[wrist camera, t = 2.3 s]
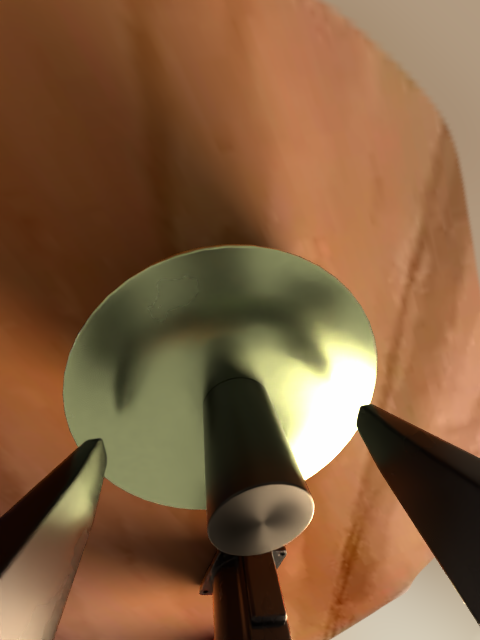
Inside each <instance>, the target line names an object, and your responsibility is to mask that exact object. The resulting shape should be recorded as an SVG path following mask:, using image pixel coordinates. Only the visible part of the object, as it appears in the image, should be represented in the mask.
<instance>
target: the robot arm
mask: <svg viewBox="0 0 480 640" xmlns="http://www.w3.org/2000/svg"><path fill="white" fill-rule="evenodd" d="M356 426H357V429H358V431H359V433H360V435H361V437H362V439H363V441H364V442H365V444H366V446H367V448H368V450H369V452H370V454H371V456H372V458H373V459H374V461H375V463H376V465H377V467H378V469H379V470H380V472H381V474H382V475H383V477H384V478H385V480H386V481H387V483H388V485H389V486H390V488H391V489H392V491H393V492H394V494H395V495H396V497H397V499H398V500H399V502H400V503H401V505H402V506H403V508H404V509H405V511H406V513H407V514H408V516H409V517H410V519H411V520H412V522H413V523H414V525H415V527H416V528H417V530H418V531H419V533H420V534H421V536H422V537H423V539H424V541H425V542H426V544H427V545H428V547H429V548H430V550H431V551H432V553H433V554H434V556H435V558H436V559H437V561H438V562H439V564H440V565H441V567H442V568H443V570H444V572H445V573H446V575H447V576H448V578H449V579H450V581H451V582H452V584H453V585H454V587H455V589H456V590H457V592H458V593H459V595H460V596H461V598H462V599H463V601H464V602H465V604H466V605H467V607H468V609H469V610H470V612H471V613H472V615H473V616H474V618H475V620H476V621H477V623H478V624H479V626H480V458H478V457H476V456H474V455H472V454H470V453H468V452H466V451H464V450H462V449H460V448H458V447H456V446H454V445H452V444H450V443H448V442H446V441H444V440H442V439H440V438H438V437H436V436H434V435H432V434H430V433H428V432H426V431H424V430H422V429H420V428H418V427H416V426H414V425H412V424H410V423H408V422H406V421H404V420H402V419H400V418H398V417H396V416H394V415H392V414H390V413H388V412H386V411H384V410H382V409H380V408H378V407H376V406H374V405H372V404H366V405H361V406H360V407H359V411H358V415H357V420H356ZM106 466H107V454H106V450H105V447H104V443H103V440H102V439H101V438H95V439H88V440H86V441H85V442H84V443H83V444H81V445H80V446H79V447H78V448H77V449H76V450H75V451H74V452H73V453H71V454H70V455H69V456H68V457H67V458H66V459H65V460H64V461H63V462H62V463H60V464H59V465H58V466H57V467H56V468H55V469H54V470H53V471H52V472H50V473H49V474H48V475H47V476H46V477H45V478H44V479H43V480H42V481H41V482H39V483H38V484H37V485H36V486H35V487H34V488H33V489H32V490H31V491H29V492H28V493H27V494H26V495H25V496H24V497H23V498H22V499H21V500H19V501H18V502H17V503H16V504H15V505H14V506H13V507H12V508H11V509H10V510H8V511H7V512H6V513H5V514H4V515H3V516H2V517H1V518H0V640H53V639H54V636H55V633H56V631H57V628H58V625H59V622H60V619H61V616H62V613H63V610H64V607H65V604H66V601H67V598H68V595H69V592H70V589H71V586H72V583H73V580H74V577H75V574H76V571H77V568H78V565H79V562H80V559H81V556H82V554H83V551H84V548H85V545H86V542H87V539H88V536H89V533H90V530H91V527H92V523H93V520H94V516H95V513H96V509H97V504H98V500H99V496H100V492H101V487H102V483H103V479H104V475H105V470H106ZM286 554H287V552H286V548H285V546H282V547H280V548H278V549H275V550H272V551H270V552H266V553H263V554H258V555H250V556H238V555H232V554H228V553H225V552H222V551H220V550H219V549H218V550H217V552H216V554H215V556H214V558H213V560H212V562H211V564H210V566H209V568H208V570H207V572H206V574H205V576H204V578H203V580H202V582H201V584H200V594H201V595H213V618H214V640H292V637H291V633H290V628H289V624H288V620H287V612H286V608H285V604H284V599H283V595H282V591H281V587H280V582H279V578H278V574H277V569H278V567H279V565H280V564H281V562H282V561H283V559H284V557H285V556H286Z"/></svg>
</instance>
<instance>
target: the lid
mask: <svg viewBox="0 0 480 640" xmlns="http://www.w3.org/2000/svg"><path fill="white" fill-rule="evenodd" d="M376 376H377V350H376V344H375V338H374V335H373V332H372V329H371V326H370V323H369V320H368V319H367V317H366V315H365V313H364V311H363V309H362V307H361V305H360V304H359V303H358V301H357V300H356V299H355V297H354V296H353V295H352V293H351V292H350V291H349V290H348V289H347V288H346V287H345V286H344V285H343V284H342V283H341V282H340V281H339V280H338V279H337V278H336V277H334V276H333V275H332V274H330V273H329V272H327V271H326V270H324V269H323V268H321V267H320V266H319V265H316V264H314V263H312V262H310V261H308V260H306V259H304V258H302V257H300V256H297V255H294V254H291V253H288V252H284V251H281V250H278V249H274V248H269V247H262V246H256V245H250V244H222V245H214V246H206V247H199V248H196V249H192V250H188V251H184V252H181V253H177V254H174V255H172V256H170V257H167V258H165V259H162V260H160V261H158V262H155V263H153V264H151V265H150V266H148V267H146V268H144V269H143V270H141V271H139V272H138V273H136V274H134V275H133V276H131V277H130V278H128V279H127V280H126V281H125V282H123V283H122V284H121V285H120V286H119V287H117V288H116V289H115V290H114V291H112V292H111V293H110V294H109V295H108V296H107V297H106V298H105V299H104V300H103V301H102V302H101V303H100V304H99V305H98V306H97V308H96V309H95V310H94V311H93V312H92V313H91V314H90V316H89V318H88V319H87V321H86V322H85V324H84V325H83V327H82V328H81V330H80V331H79V333H78V335H77V337H76V339H75V342H74V344H73V346H72V348H71V351H70V353H69V357H68V361H67V364H66V368H65V372H64V384H63V402H64V411H65V416H66V419H67V423H68V426H69V430H70V432H71V434H72V436H73V438H74V440H75V442H76V444H77V446H78V447H79V446H80V445H81V444H83V443H84V442H85V441H86V440H88V439H95V438H101V439H102V440H103V443H104V447H105V450H106V454H107V466H106V470H105V475H104V477H105V478H106V479H107V480H109V481H110V482H111V483H113V484H114V485H116V486H117V487H119V488H121V489H122V490H124V491H126V492H128V493H130V494H132V495H134V496H137V497H139V498H141V499H143V500H147V501H150V502H153V503H156V504H159V505H164V506H169V507H174V508H182V509H192V510H206V512H207V533H208V537H209V539H210V541H211V543H212V544H213V545H214V546H215V547H216V548H217V549H219V550H220V551H222V552H225V553H228V554H232V555H238V556H250V555H258V554H263V553H266V552H270V551H272V550H275V549H278V548H280V547H282V546H284V545H286V544H287V543H289V542H291V541H292V540H294V539H295V538H296V537H298V536H299V535H300V534H301V533H302V532H303V531H304V530H305V529H306V527H307V526H308V525H309V523H310V521H311V519H312V517H313V513H314V501H313V498H312V496H311V494H310V491H309V489H308V487H307V484H306V482H305V480H306V479H308V478H309V477H311V476H312V475H314V474H315V473H316V472H318V471H319V470H320V469H321V468H323V467H324V466H325V465H326V464H328V463H329V462H330V461H331V460H332V459H333V458H334V457H335V456H336V455H337V454H338V453H339V452H340V451H341V450H342V449H343V447H344V446H345V445H346V444H347V443H348V442H349V440H350V439H351V437H352V436H353V435H354V433H355V432H356V430H357V426H356V420H357V415H358V411H359V407H360V406H361V405H366V404H370V402H371V399H372V396H373V392H374V388H375V383H376Z"/></svg>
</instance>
